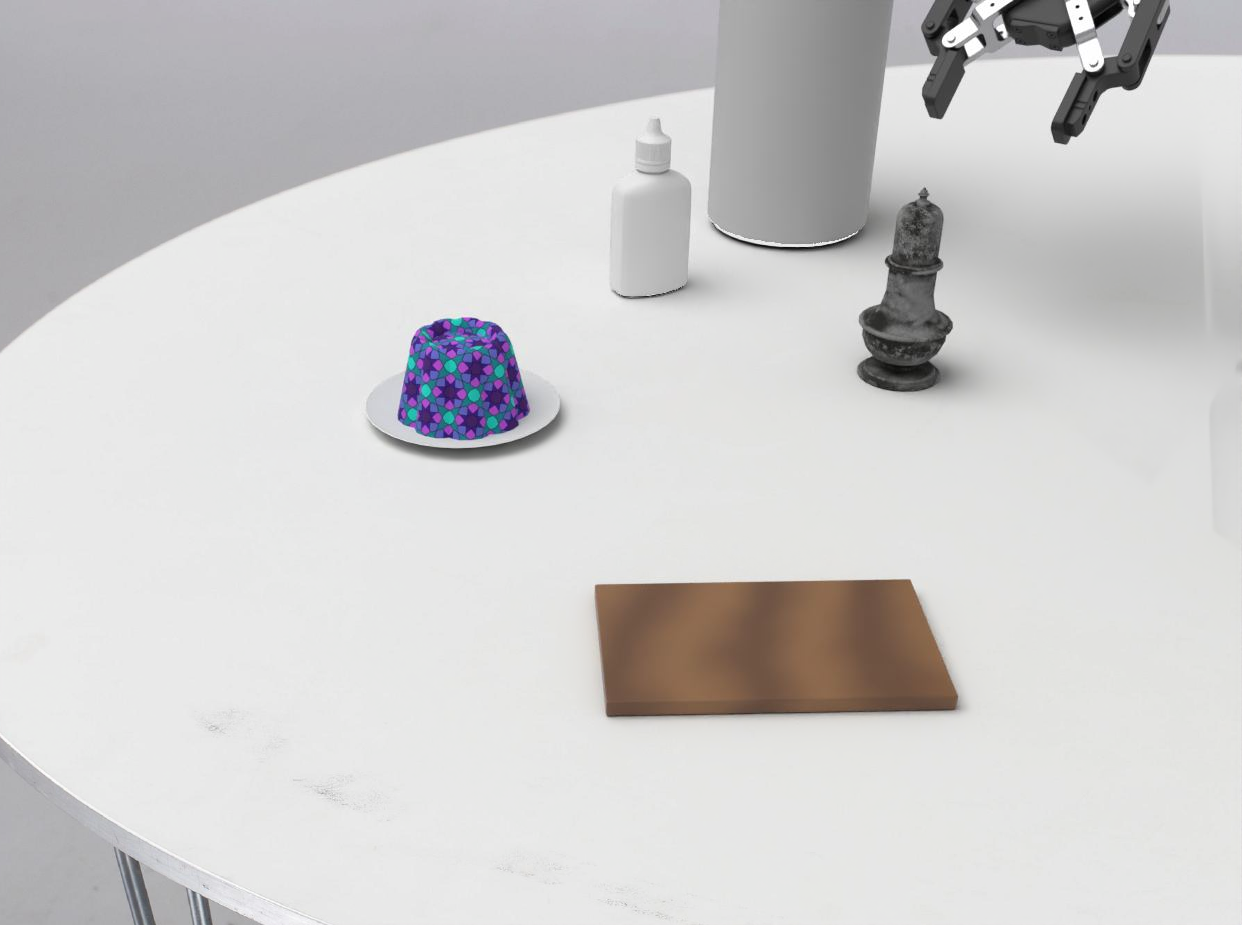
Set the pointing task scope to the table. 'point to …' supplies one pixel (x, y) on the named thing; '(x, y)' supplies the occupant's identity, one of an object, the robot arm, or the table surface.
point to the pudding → (462, 390)
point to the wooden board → (768, 648)
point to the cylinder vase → (796, 117)
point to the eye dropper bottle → (650, 221)
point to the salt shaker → (908, 306)
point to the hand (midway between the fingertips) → (993, 124)
